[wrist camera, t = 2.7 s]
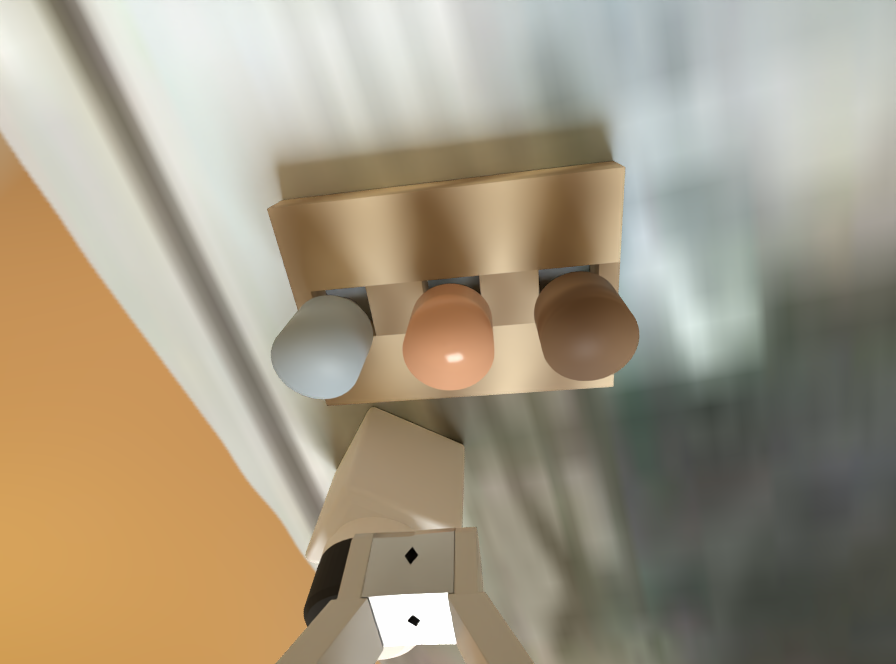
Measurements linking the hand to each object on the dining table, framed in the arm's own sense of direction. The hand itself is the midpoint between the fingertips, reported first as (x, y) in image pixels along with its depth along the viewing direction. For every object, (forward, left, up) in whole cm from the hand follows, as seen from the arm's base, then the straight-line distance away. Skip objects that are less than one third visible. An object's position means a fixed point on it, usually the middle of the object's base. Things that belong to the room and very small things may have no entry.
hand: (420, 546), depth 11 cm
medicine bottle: (-2, +14, -17) cm, 22 cm away
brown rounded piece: (-5, -3, -15) cm, 16 cm away
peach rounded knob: (0, 0, -15) cm, 15 cm away
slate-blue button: (+5, +3, -15) cm, 16 cm away
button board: (0, 0, -17) cm, 17 cm away
